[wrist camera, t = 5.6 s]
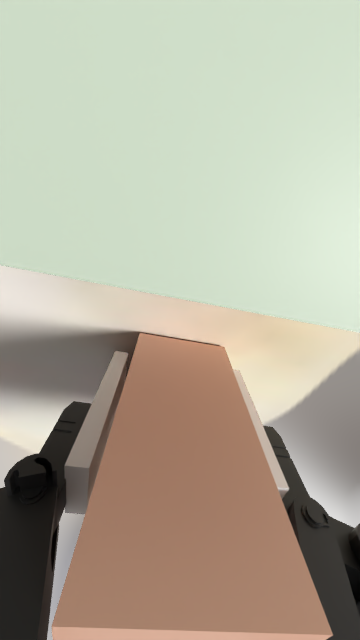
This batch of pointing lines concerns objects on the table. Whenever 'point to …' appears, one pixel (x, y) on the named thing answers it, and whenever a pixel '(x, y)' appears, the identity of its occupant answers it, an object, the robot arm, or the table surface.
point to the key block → (186, 517)
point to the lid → (186, 150)
